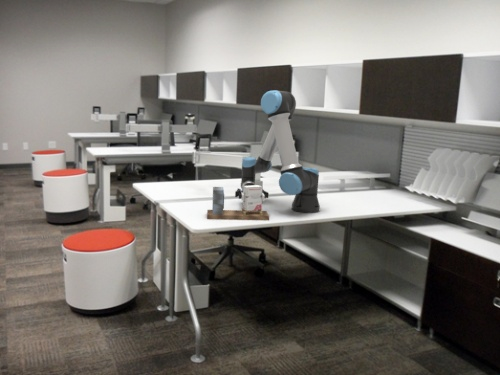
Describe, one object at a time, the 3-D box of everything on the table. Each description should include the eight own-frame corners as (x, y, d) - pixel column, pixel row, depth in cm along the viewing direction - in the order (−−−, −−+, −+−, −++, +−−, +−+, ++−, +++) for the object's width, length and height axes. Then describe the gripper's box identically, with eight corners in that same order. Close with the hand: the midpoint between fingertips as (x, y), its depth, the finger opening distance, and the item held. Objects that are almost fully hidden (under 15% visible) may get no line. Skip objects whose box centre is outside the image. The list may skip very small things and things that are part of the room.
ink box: (257, 207, 240) (258, 184, 238) (261, 209, 236) (263, 186, 233) (241, 208, 236) (242, 185, 234) (246, 211, 232) (247, 187, 229)
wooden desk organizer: (266, 214, 242) (267, 187, 240) (269, 220, 232) (270, 191, 229) (207, 213, 240) (208, 186, 237) (207, 218, 229) (207, 190, 226)
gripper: (269, 196, 254) (275, 206, 232) (228, 195, 252) (230, 205, 230) (270, 182, 252) (276, 191, 230) (228, 181, 250) (230, 189, 228)
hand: (253, 198), depth 230 cm, fingers closed on ink box, 9 cm apart
